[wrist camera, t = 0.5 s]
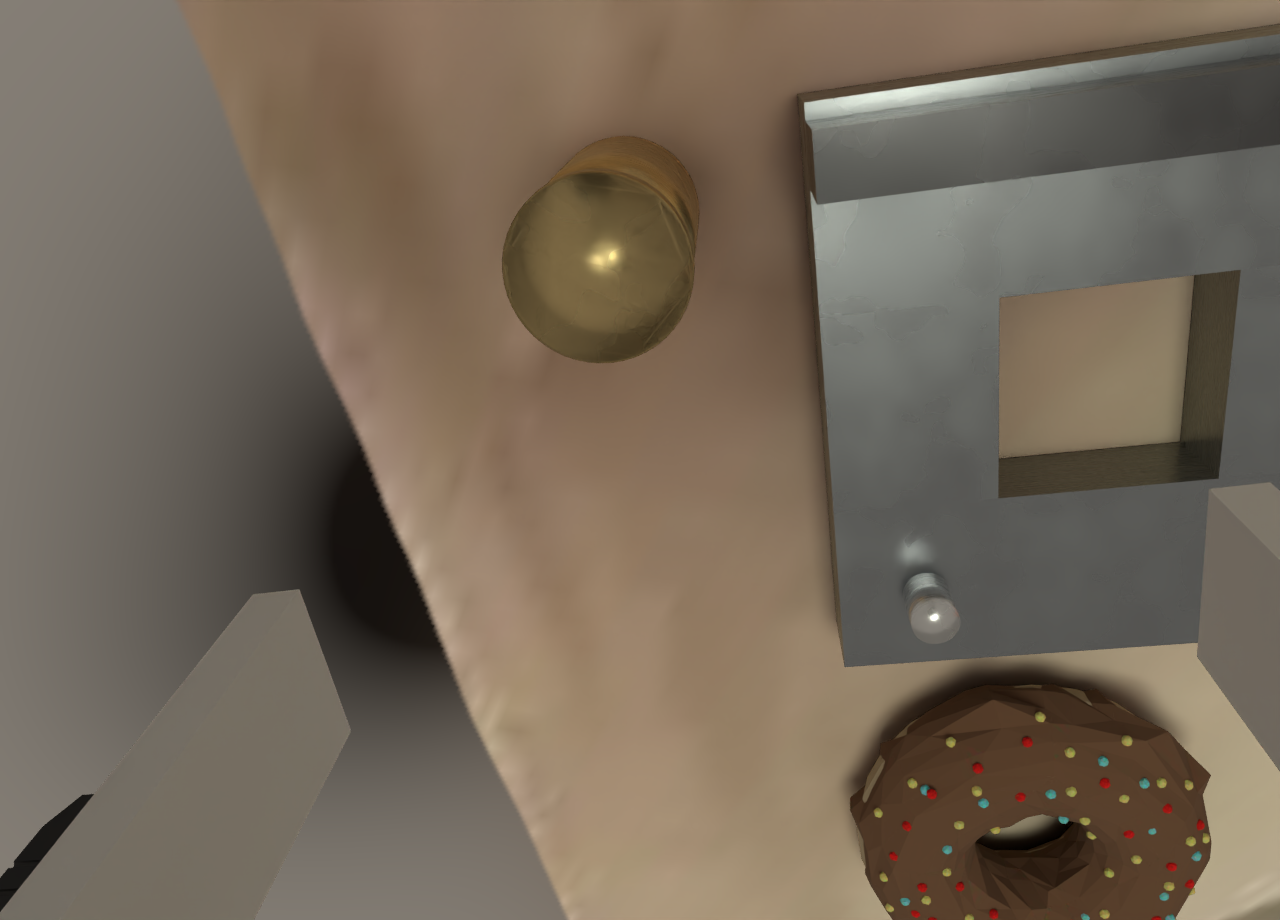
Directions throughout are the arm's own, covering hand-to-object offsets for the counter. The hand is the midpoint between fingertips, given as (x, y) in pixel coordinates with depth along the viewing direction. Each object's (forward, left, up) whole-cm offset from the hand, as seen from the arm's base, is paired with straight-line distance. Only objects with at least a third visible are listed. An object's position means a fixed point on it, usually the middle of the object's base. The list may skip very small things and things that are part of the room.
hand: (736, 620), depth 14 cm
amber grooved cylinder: (-2, -3, -21) cm, 22 cm away
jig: (+5, +12, -21) cm, 25 cm away
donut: (+24, +10, -22) cm, 34 cm away
